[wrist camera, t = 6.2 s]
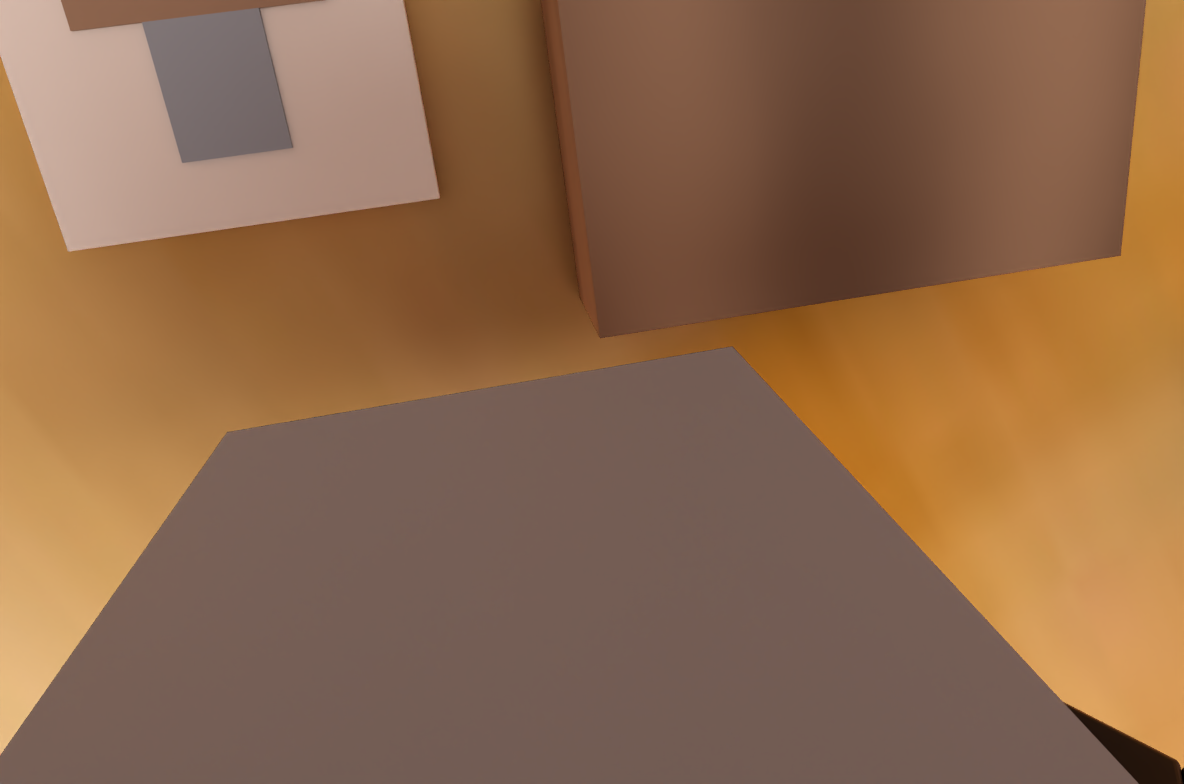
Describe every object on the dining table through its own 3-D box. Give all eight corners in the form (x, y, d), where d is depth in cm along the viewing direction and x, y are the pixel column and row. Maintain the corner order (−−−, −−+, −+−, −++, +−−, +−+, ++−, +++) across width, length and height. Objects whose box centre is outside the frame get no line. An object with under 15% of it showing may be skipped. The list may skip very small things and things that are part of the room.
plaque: (364, -220, 15) (360, -230, 14) (440, 195, 17) (439, 198, 17) (-67, -175, 14) (-86, -184, 14) (76, 248, 17) (65, 252, 16)
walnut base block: (1057, -325, 15) (1186, -413, 13) (1024, 228, 19) (1120, 255, 16) (505, -270, 15) (514, -351, 12) (579, 297, 18) (599, 337, 15)
